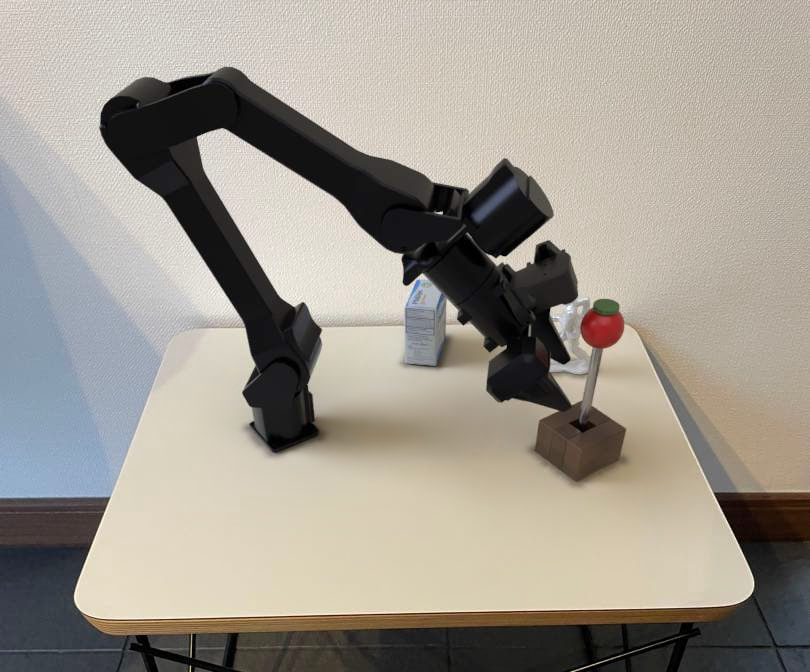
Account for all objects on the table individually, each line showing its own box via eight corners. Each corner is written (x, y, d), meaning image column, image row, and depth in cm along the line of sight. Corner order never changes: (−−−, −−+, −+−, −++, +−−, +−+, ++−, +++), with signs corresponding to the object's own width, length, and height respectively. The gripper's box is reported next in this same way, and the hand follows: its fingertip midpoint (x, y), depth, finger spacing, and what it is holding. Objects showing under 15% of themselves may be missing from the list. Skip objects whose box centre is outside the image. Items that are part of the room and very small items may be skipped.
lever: (576, 471, 88) (606, 320, 74) (550, 452, 91) (575, 302, 77) (603, 458, 90) (638, 307, 76) (577, 439, 92) (606, 290, 79)
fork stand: (575, 482, 87) (582, 451, 84) (534, 450, 91) (539, 419, 88) (619, 459, 90) (627, 428, 86) (577, 430, 94) (583, 399, 90)
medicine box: (436, 367, 104) (438, 309, 97) (404, 364, 104) (403, 305, 98) (445, 338, 109) (448, 280, 103) (415, 334, 110) (415, 277, 104)
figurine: (596, 376, 102) (613, 292, 94) (528, 380, 101) (539, 296, 93) (586, 357, 105) (602, 274, 97) (520, 361, 105) (530, 278, 96)
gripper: (533, 275, 66) (638, 392, 72) (538, 192, 79) (626, 298, 86) (440, 349, 72) (544, 451, 79) (458, 261, 85) (546, 355, 92)
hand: (567, 384), depth 84 cm, fingers open, 9 cm apart
